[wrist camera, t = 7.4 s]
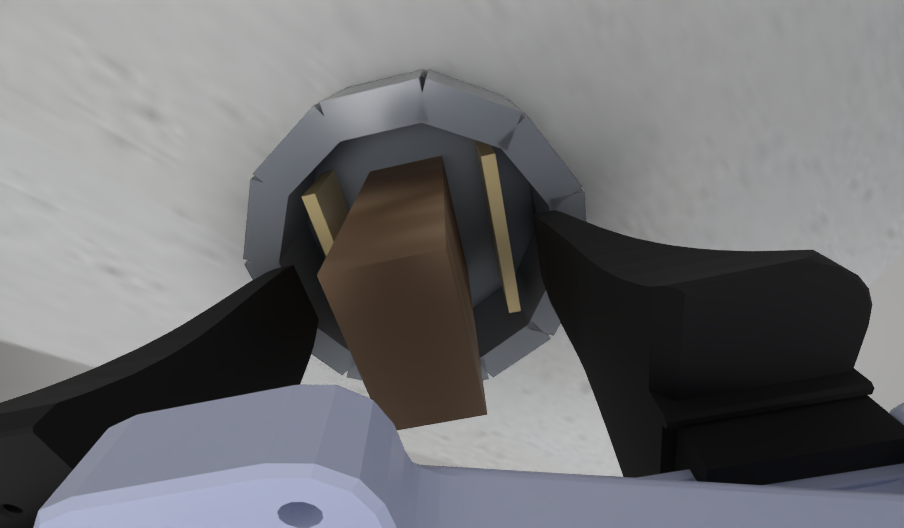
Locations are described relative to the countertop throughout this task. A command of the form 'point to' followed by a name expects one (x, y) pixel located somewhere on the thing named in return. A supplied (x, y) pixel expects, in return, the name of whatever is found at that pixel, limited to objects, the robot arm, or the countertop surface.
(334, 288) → the tall cardboard-brown brick
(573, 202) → the grey segmented round container
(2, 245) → the countertop surface
